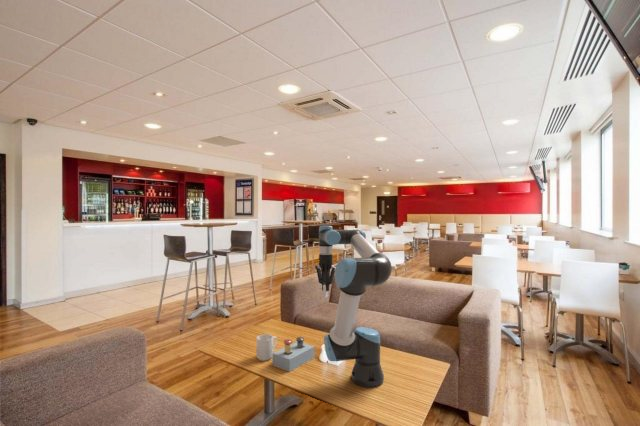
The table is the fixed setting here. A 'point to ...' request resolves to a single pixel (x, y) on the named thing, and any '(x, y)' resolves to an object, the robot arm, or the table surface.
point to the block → (293, 357)
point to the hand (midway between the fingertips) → (325, 296)
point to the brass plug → (287, 346)
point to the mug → (265, 347)
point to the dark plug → (300, 342)
